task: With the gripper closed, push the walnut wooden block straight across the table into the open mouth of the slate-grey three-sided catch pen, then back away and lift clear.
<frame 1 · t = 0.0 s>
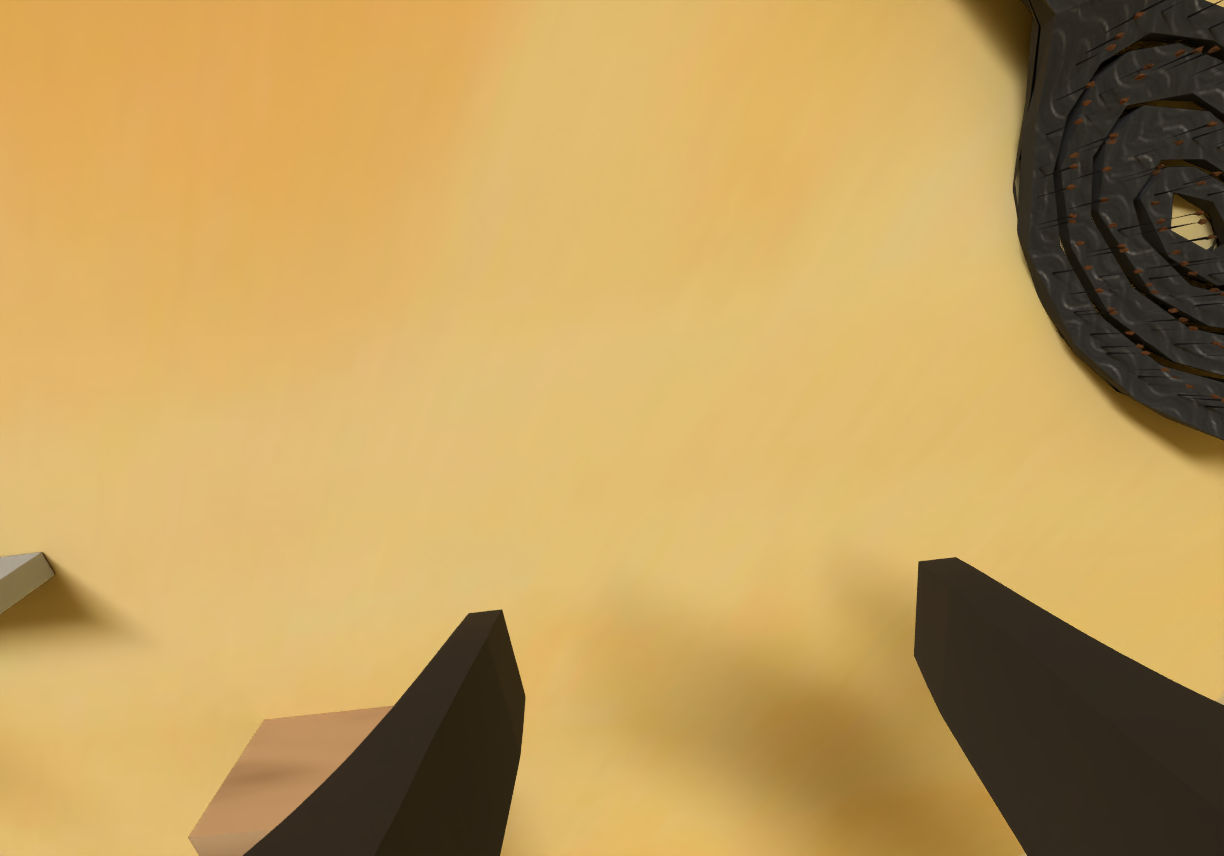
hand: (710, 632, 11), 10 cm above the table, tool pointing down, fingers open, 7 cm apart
hairbrush: (1069, 77, 17), on the table
walnut block: (357, 761, 27), on the table
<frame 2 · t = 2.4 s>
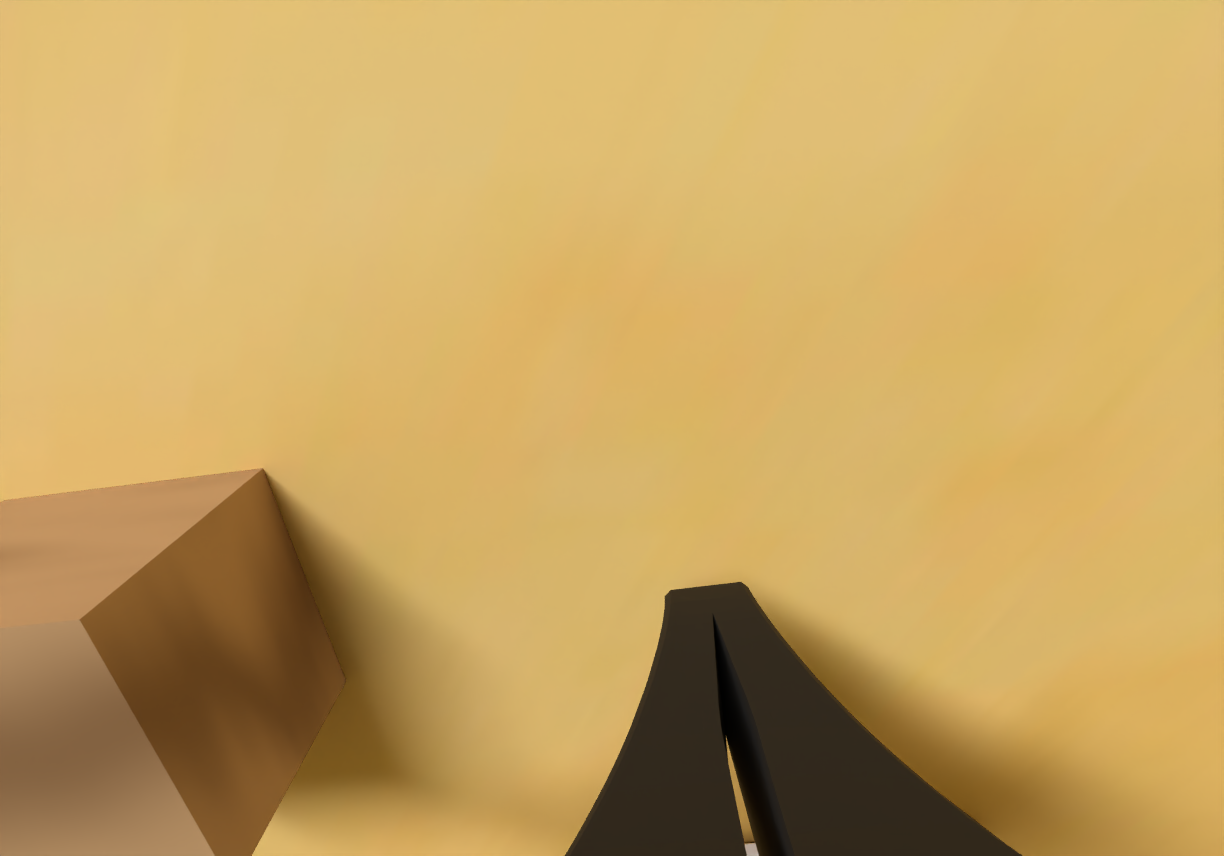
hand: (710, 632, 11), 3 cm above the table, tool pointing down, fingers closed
walnut block: (189, 593, 15), on the table
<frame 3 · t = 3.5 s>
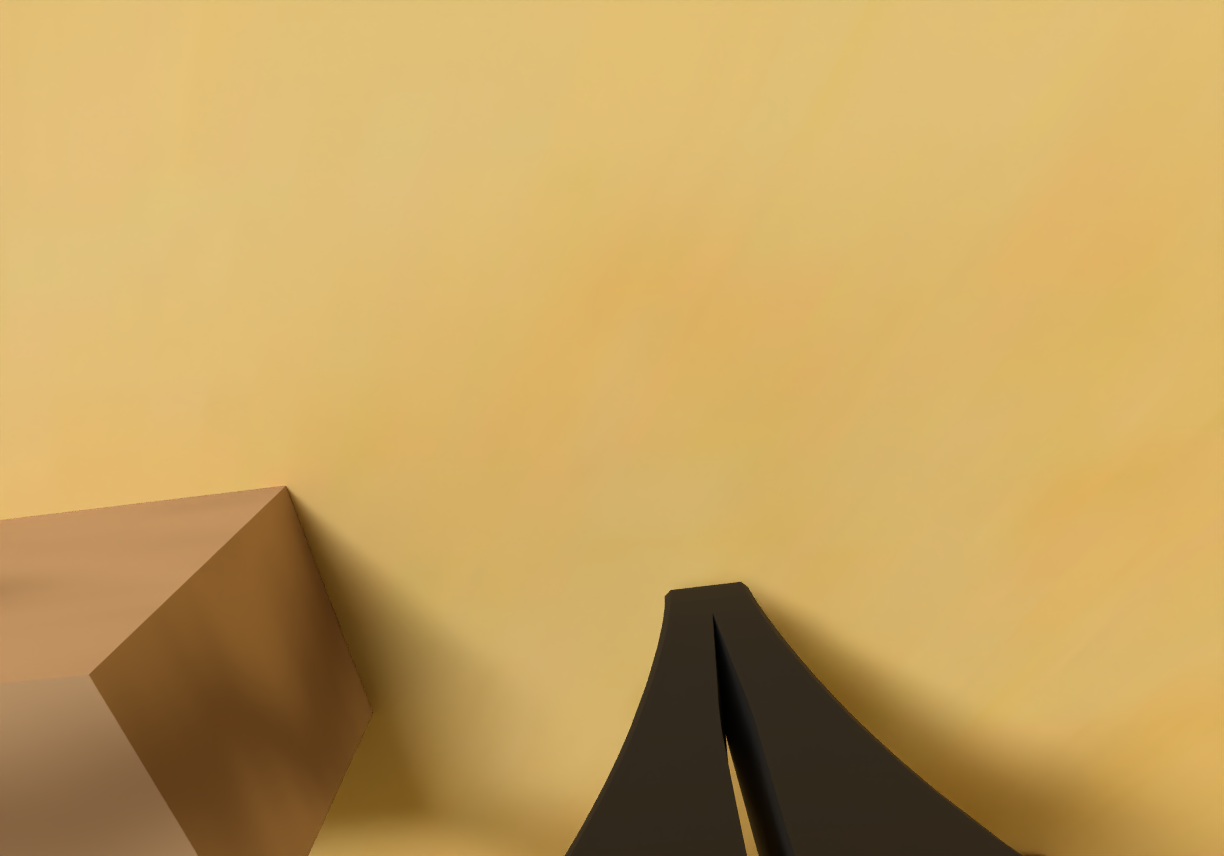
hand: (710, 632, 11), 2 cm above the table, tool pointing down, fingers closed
walnut block: (203, 619, 14), on the table
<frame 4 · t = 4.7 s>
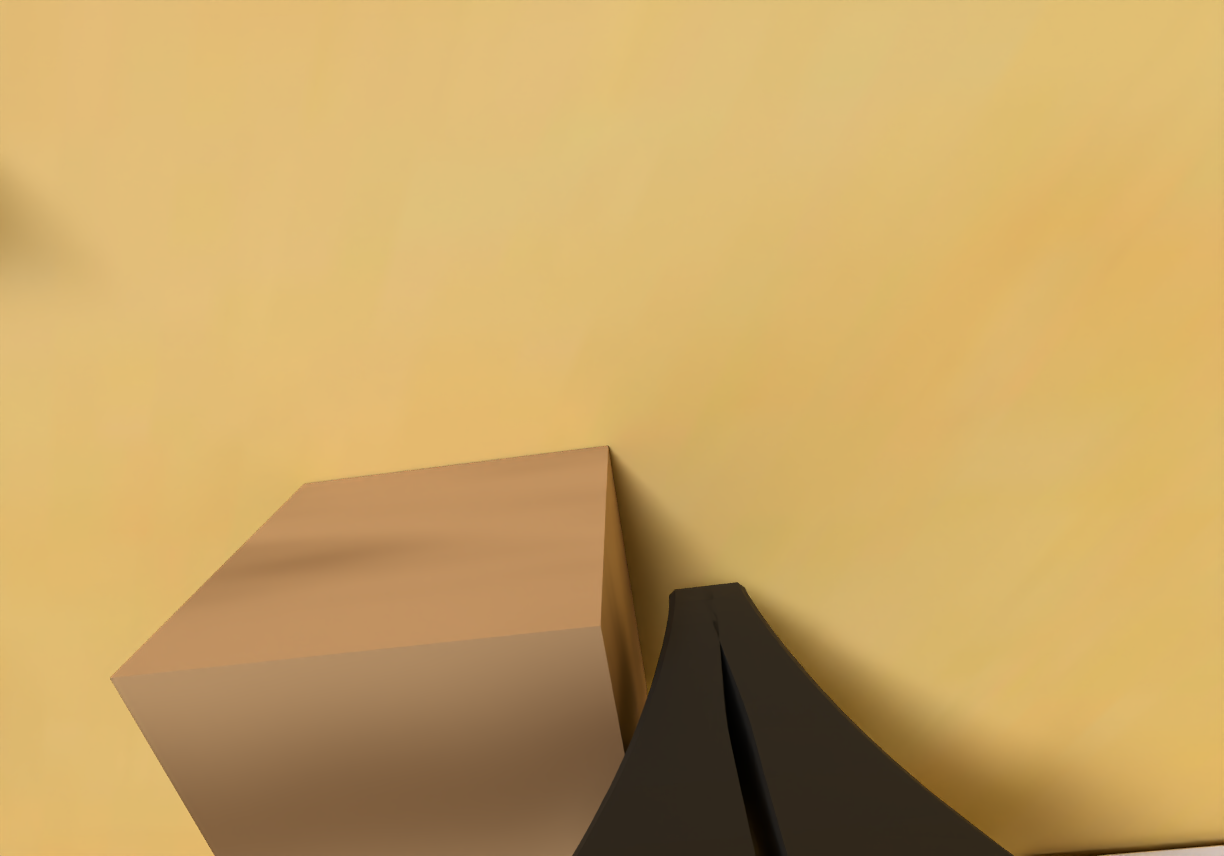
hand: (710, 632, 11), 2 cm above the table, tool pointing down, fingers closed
walnut block: (487, 592, 13), on the table, touching gripper
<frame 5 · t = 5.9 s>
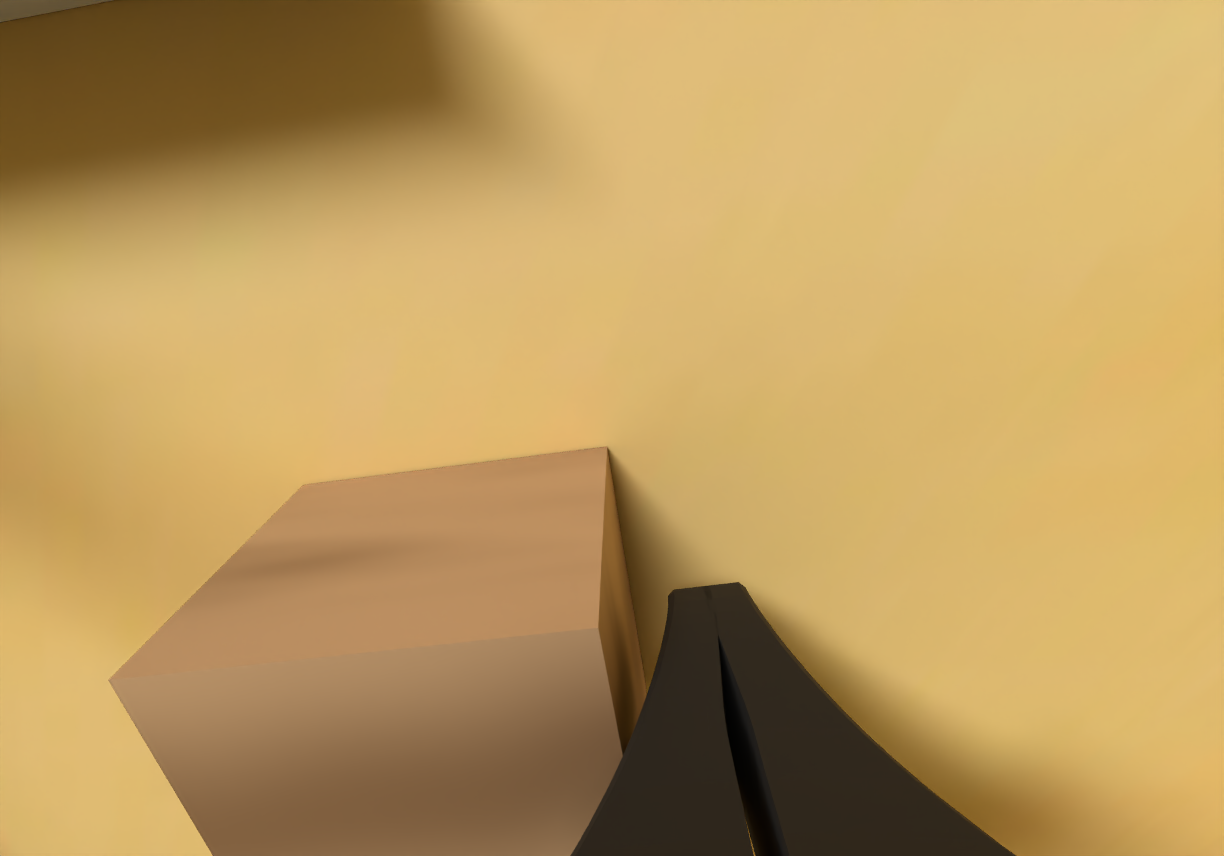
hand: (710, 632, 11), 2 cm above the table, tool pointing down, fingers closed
catch pen: (143, 630, 14), on the table
walnut block: (486, 593, 13), on the table, touching gripper
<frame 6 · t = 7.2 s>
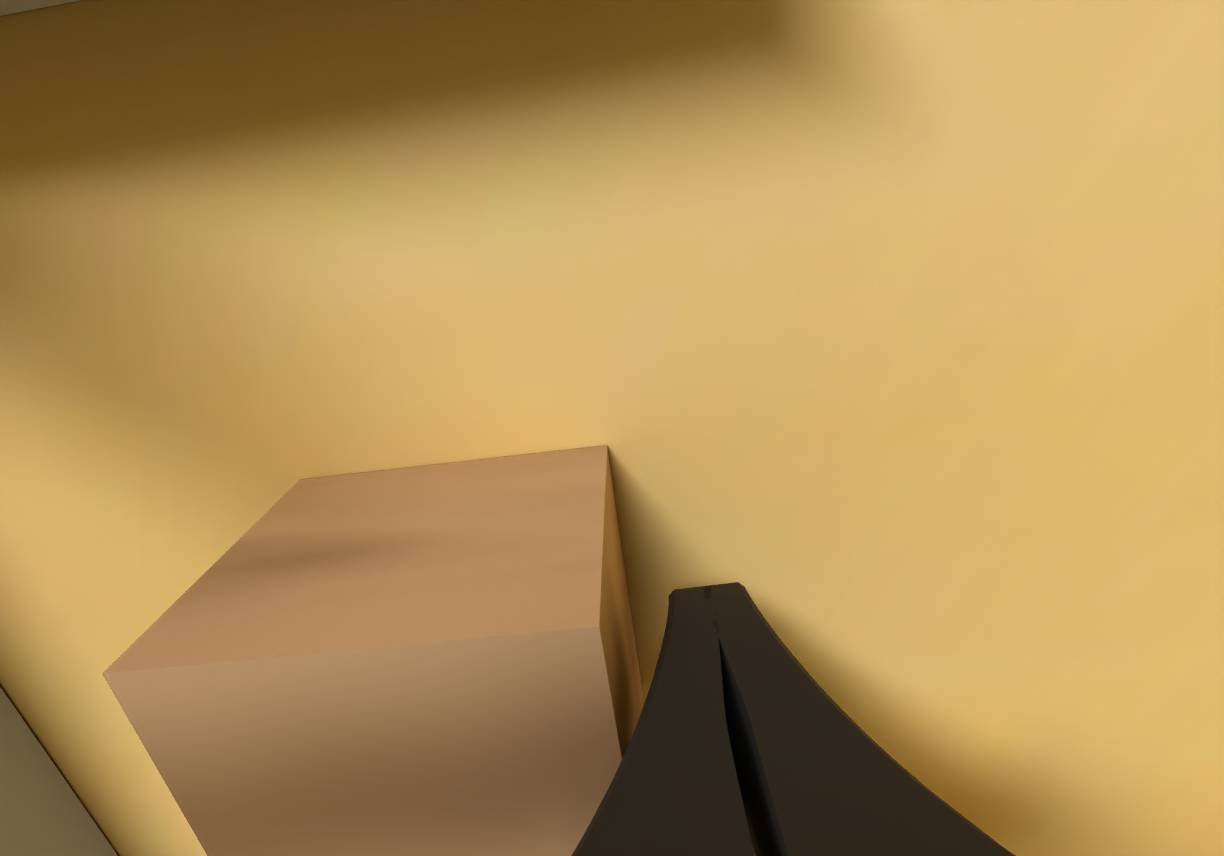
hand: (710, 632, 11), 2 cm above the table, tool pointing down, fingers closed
catch pen: (365, 603, 13), on the table
walnut block: (483, 590, 13), on the table, touching gripper
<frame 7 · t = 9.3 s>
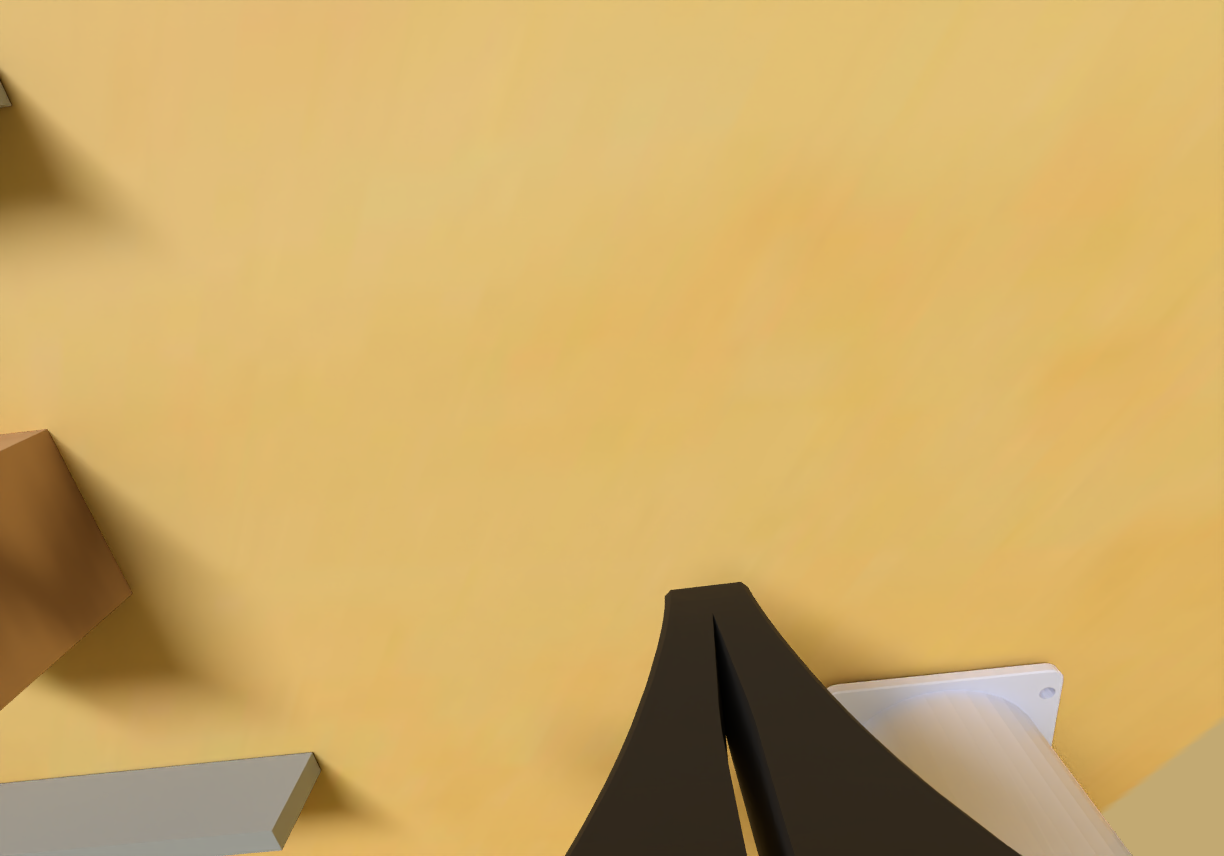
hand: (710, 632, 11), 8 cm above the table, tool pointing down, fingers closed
walnut block: (6, 523, 20), on the table
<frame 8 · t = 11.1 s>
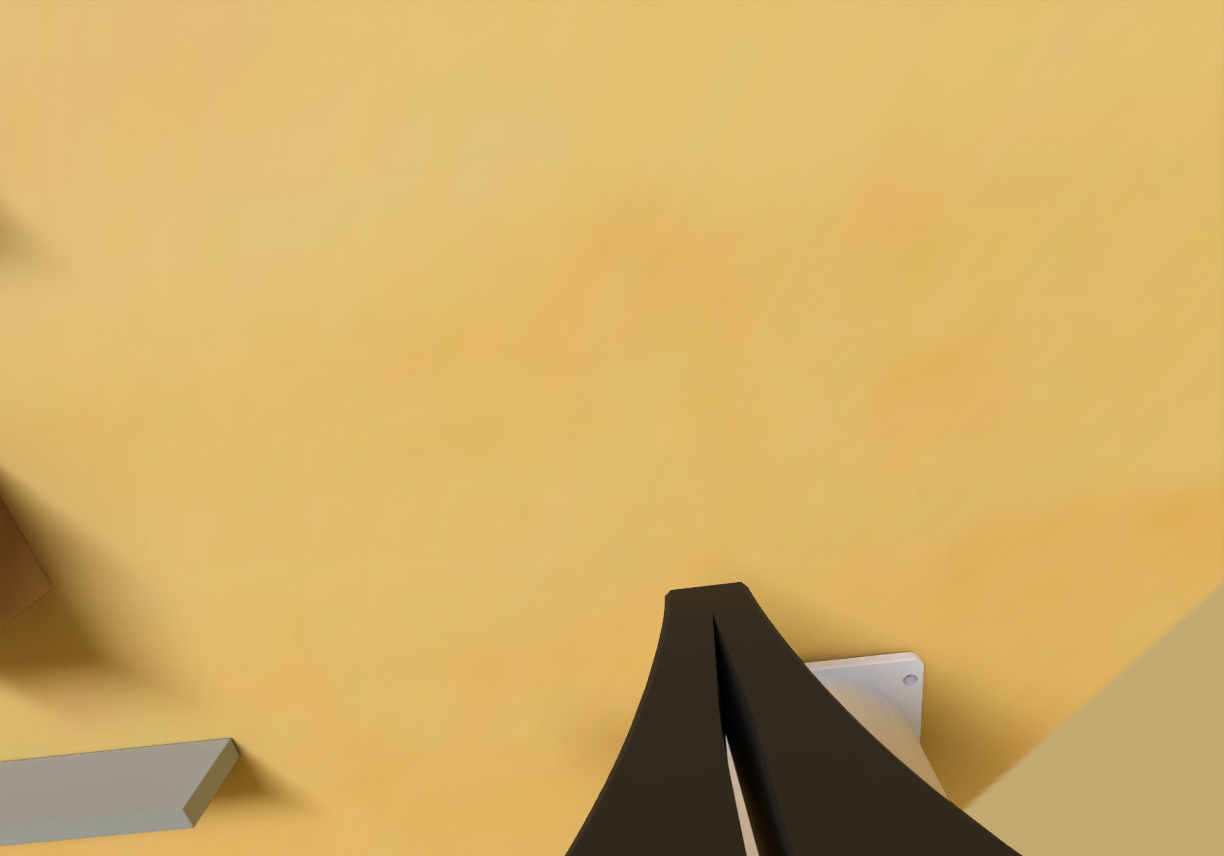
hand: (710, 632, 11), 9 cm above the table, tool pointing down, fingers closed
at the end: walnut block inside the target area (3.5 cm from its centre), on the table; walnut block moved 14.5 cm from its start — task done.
